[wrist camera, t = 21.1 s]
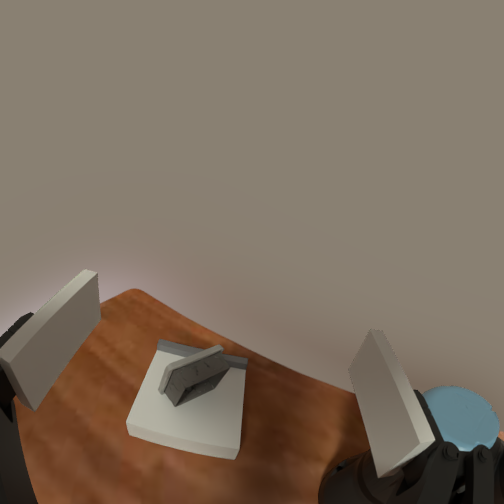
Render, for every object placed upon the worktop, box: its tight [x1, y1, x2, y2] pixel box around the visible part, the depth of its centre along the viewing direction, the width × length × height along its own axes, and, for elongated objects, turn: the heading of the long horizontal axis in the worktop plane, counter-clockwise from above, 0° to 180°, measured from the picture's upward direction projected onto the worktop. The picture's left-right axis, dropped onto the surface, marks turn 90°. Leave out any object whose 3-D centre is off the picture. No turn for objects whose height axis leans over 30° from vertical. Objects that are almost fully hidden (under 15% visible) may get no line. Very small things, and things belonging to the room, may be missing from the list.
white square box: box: [126, 339, 248, 460], centre depth 39 cm, size 16×18×6 cm
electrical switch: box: [158, 345, 230, 407], centre depth 37 cm, size 9×5×9 cm, turn 134°
